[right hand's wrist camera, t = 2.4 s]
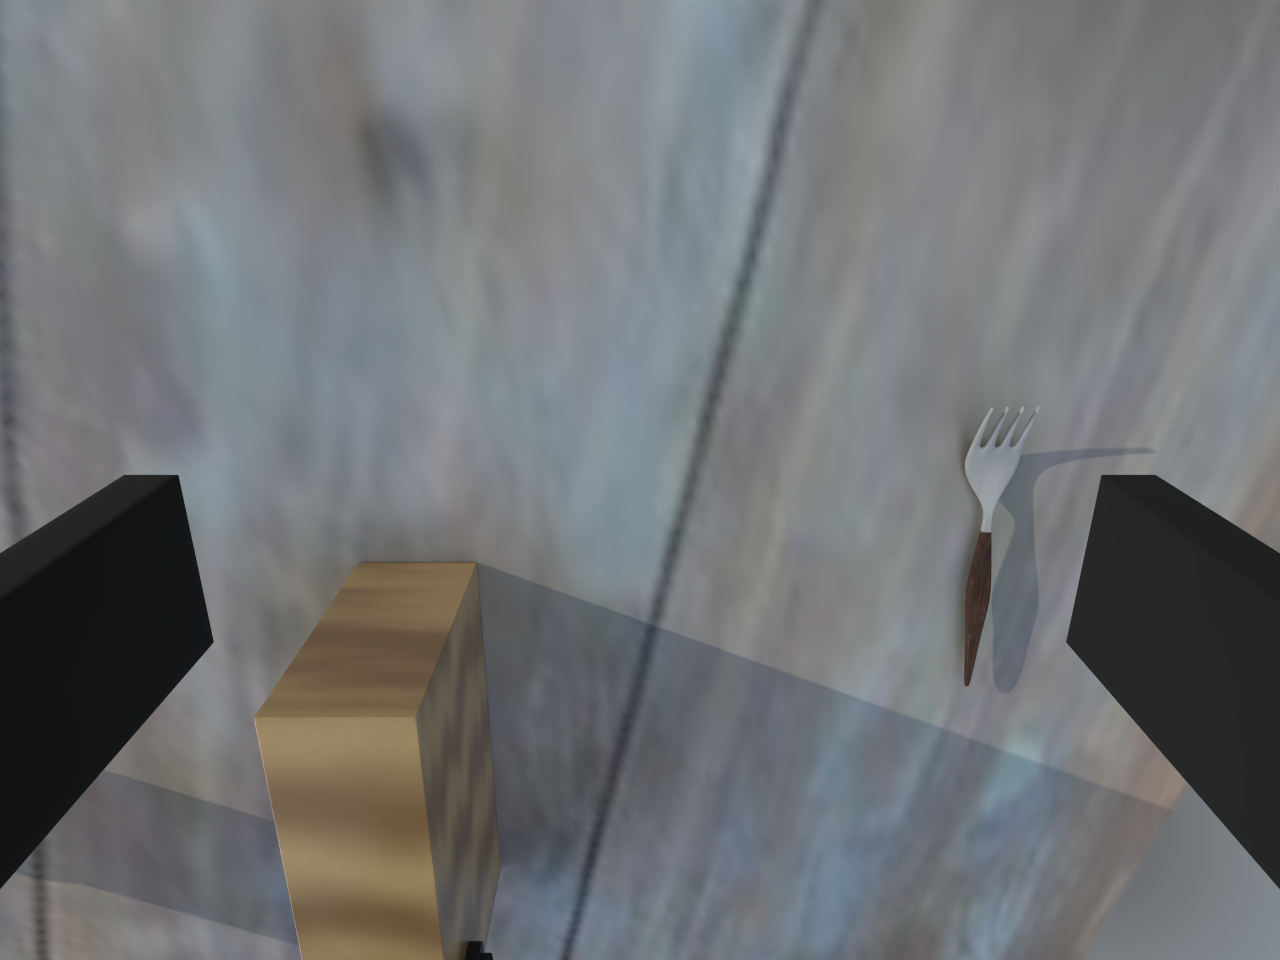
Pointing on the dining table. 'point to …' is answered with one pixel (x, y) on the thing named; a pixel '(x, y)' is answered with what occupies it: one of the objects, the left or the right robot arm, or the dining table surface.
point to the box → (387, 769)
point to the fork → (987, 519)
